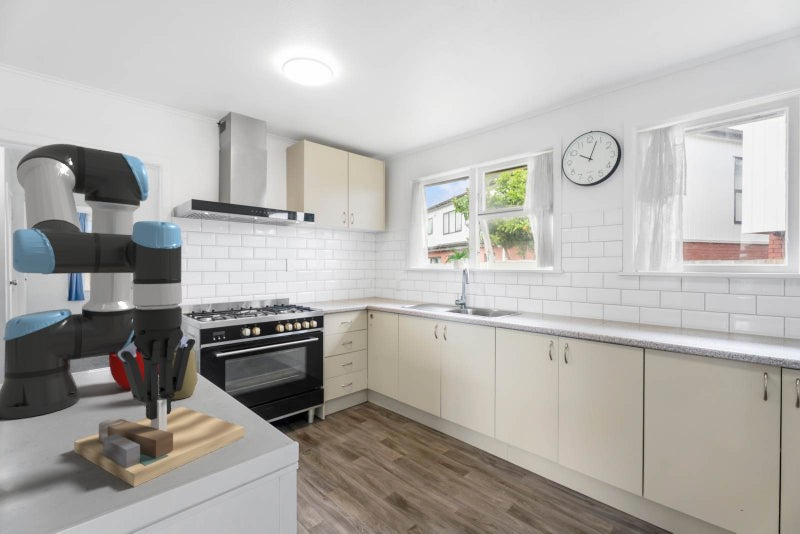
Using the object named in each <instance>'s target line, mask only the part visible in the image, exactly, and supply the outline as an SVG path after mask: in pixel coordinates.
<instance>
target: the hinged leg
mask: <svg viewBox="0 0 800 534" xmlns="http://www.w3.org/2000/svg"><path fill="white" fill-rule="evenodd" d="M134 422H135V421H129V420H126V418H124V417H115V418H109V419H106V420H103V421H100V423H98V433H99V442H101V443H103V438H106V437H109V436H112V435H115V434H118V435H120V436H122V437H124V438H126V439H129V440H131V441H133V442H135V443H137V444H139V445H140V453H142V454H145V455H148V456H151V457H154V458H157V457H160V456H162V455H164V454H166V453H168V452H170V451H172V450H173V433H170V432H167V431H163V430H158V429H156V428H152V427H148V426H145V425H141V424H137V423H134Z"/></svg>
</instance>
